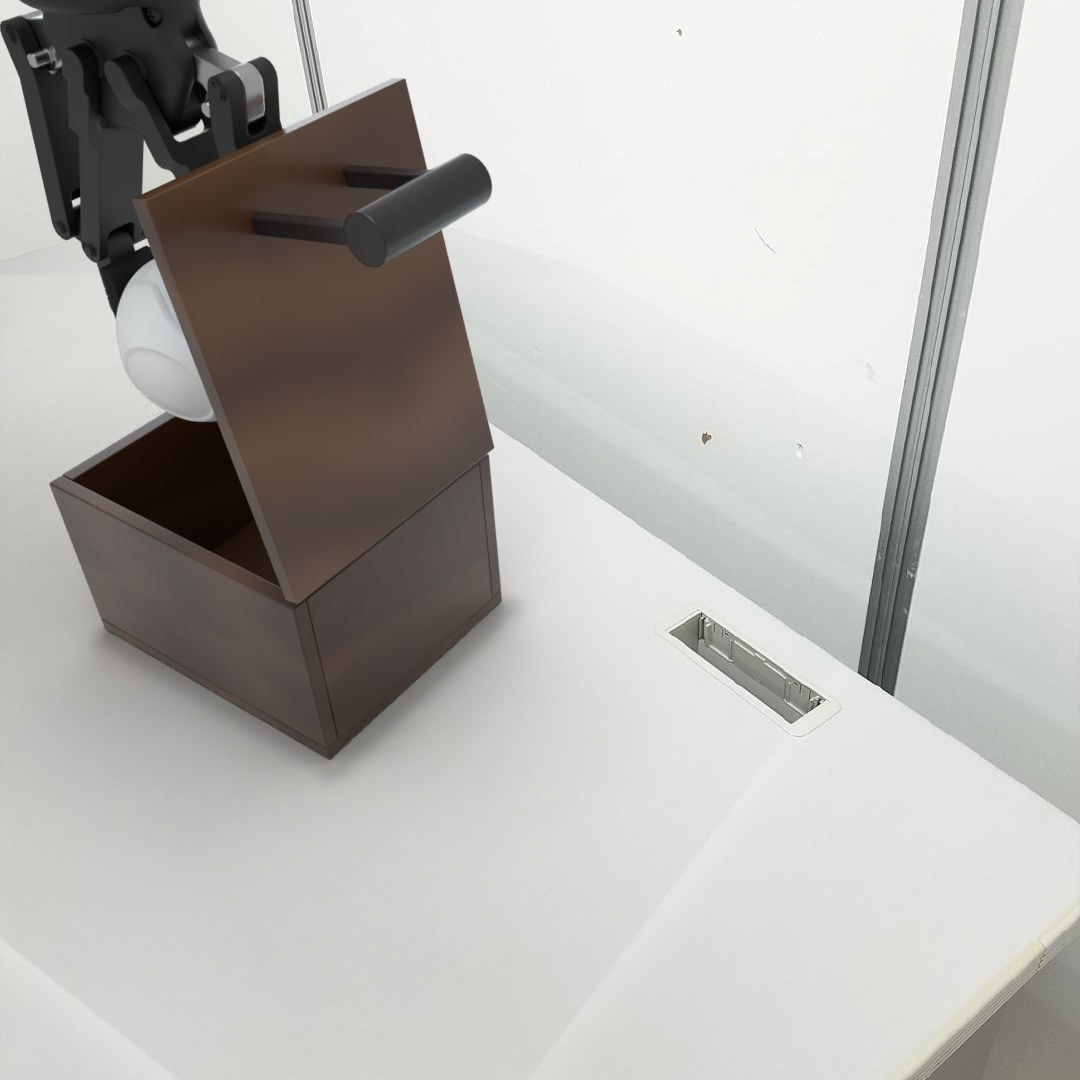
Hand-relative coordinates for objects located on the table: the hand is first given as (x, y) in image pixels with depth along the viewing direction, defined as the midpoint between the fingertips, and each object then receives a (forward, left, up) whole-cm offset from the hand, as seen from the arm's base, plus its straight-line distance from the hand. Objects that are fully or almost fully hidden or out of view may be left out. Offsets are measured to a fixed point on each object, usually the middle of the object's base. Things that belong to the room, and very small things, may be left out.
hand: (223, 404), depth 60 cm
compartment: (+2, 0, -13) cm, 13 cm away
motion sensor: (0, 0, 0) cm, 0 cm away
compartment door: (+9, 0, +6) cm, 11 cm away
